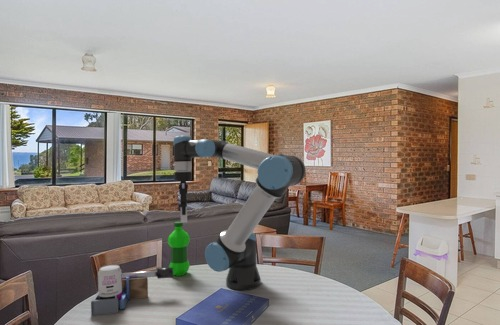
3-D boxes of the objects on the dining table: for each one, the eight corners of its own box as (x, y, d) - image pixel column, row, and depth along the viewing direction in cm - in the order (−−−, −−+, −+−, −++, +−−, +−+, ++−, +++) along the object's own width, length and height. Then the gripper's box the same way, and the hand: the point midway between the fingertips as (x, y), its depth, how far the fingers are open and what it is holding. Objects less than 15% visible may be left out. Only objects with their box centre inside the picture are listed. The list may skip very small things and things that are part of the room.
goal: (124, 299, 136) (123, 287, 136) (117, 312, 124) (117, 299, 124) (99, 301, 134) (99, 289, 134) (91, 315, 122) (91, 301, 122)
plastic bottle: (185, 278, 159) (183, 224, 159) (164, 276, 162) (163, 224, 161) (194, 271, 169) (192, 220, 168) (174, 270, 171) (173, 220, 171)
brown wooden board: (148, 295, 139) (147, 277, 139) (147, 297, 138) (147, 278, 138) (111, 299, 137) (111, 280, 137) (110, 300, 135) (110, 281, 135)
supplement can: (115, 301, 135) (114, 263, 135) (126, 306, 129) (125, 267, 129) (94, 308, 129) (93, 268, 128) (105, 314, 123) (104, 272, 123)
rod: (173, 291, 142) (172, 266, 142) (172, 304, 129) (171, 276, 129) (117, 296, 138) (117, 270, 138) (110, 310, 126) (109, 281, 125)
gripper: (175, 170, 162) (176, 215, 162) (173, 172, 137) (174, 225, 138) (191, 170, 163) (192, 214, 163) (192, 172, 139) (193, 224, 139)
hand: (184, 219), depth 151 cm, fingers open, 13 cm apart
